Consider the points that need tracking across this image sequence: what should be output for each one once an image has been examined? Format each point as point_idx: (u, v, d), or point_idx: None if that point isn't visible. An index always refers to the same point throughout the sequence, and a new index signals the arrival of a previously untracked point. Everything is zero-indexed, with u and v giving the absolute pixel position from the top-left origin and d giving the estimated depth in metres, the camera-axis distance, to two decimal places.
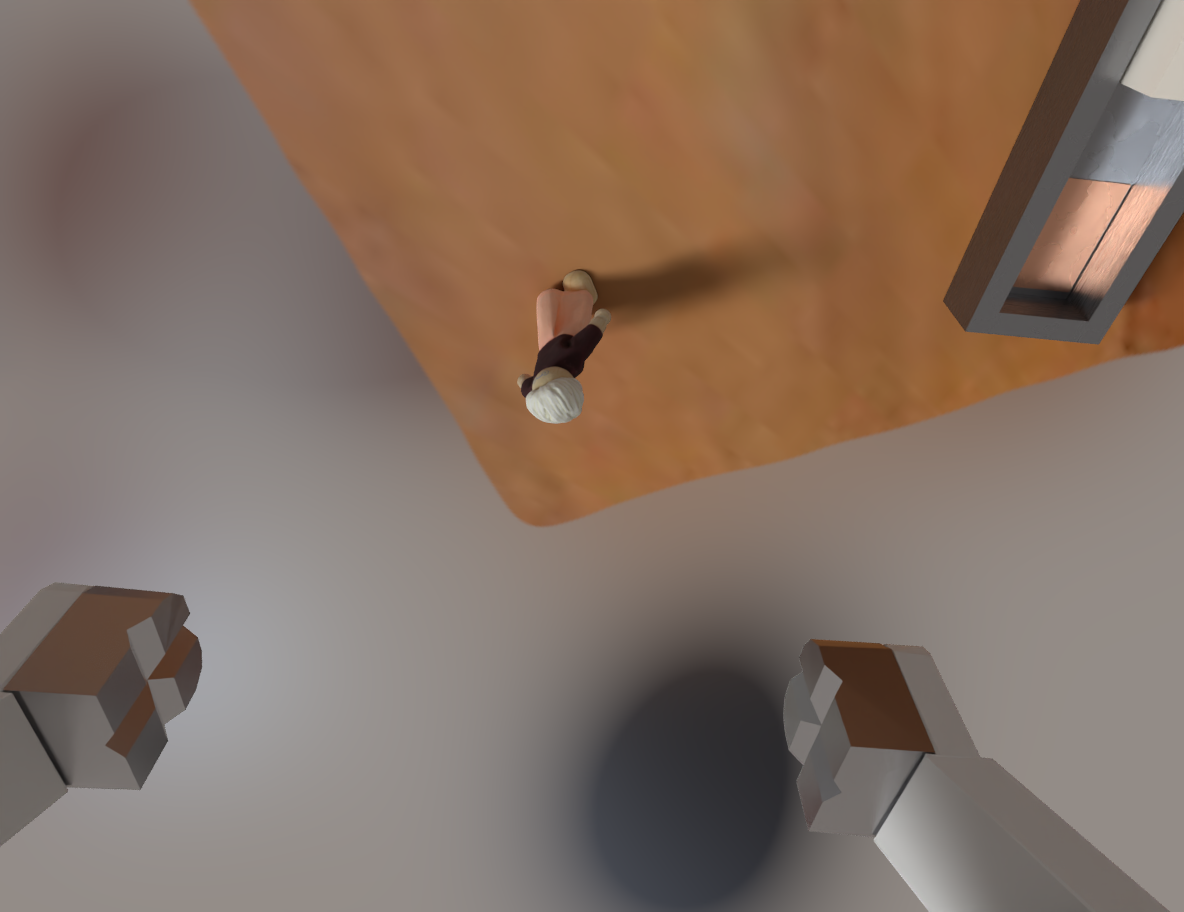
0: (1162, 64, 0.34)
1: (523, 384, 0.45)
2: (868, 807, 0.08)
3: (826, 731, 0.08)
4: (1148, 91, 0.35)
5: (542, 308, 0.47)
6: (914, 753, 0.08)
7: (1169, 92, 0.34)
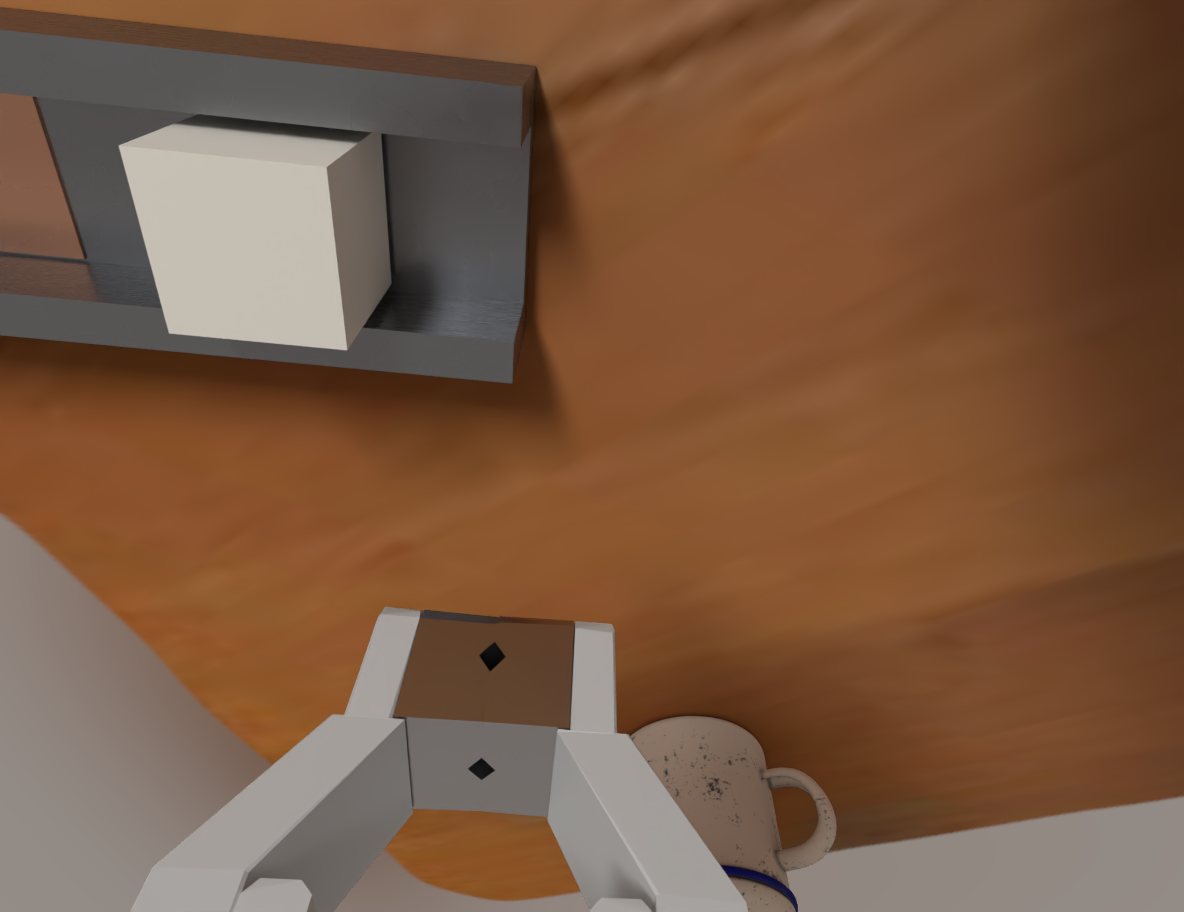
0: (184, 147, 0.18)
1: None
2: (530, 785, 0.08)
3: None
4: (134, 142, 0.18)
5: None
6: (549, 729, 0.08)
7: (139, 177, 0.18)
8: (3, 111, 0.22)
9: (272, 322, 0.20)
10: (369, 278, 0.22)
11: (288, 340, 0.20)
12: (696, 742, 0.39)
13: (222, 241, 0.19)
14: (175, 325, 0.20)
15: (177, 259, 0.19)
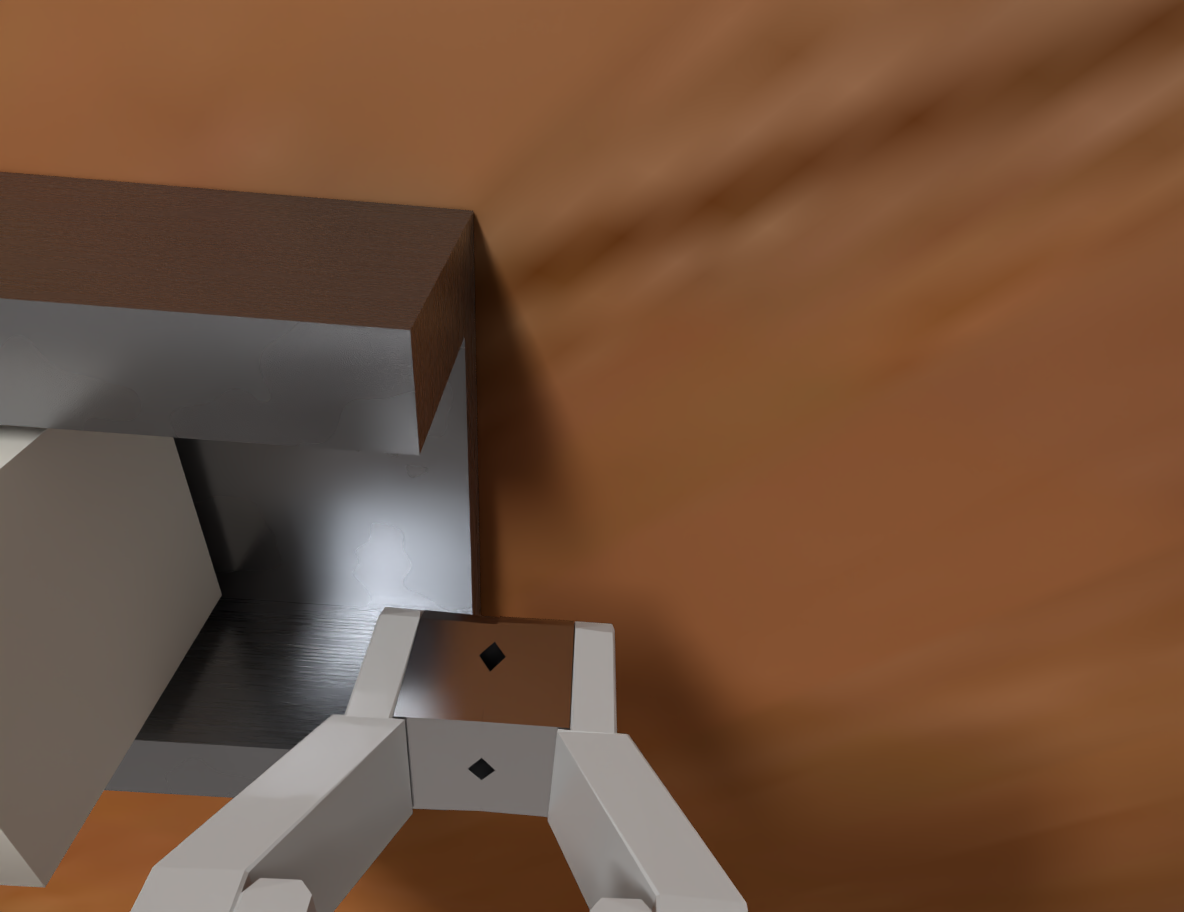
0: None
1: None
2: (530, 786, 0.08)
3: None
4: None
5: None
6: (549, 729, 0.08)
7: None
8: None
9: None
10: (130, 661, 0.10)
11: None
12: None
13: None
14: None
15: None
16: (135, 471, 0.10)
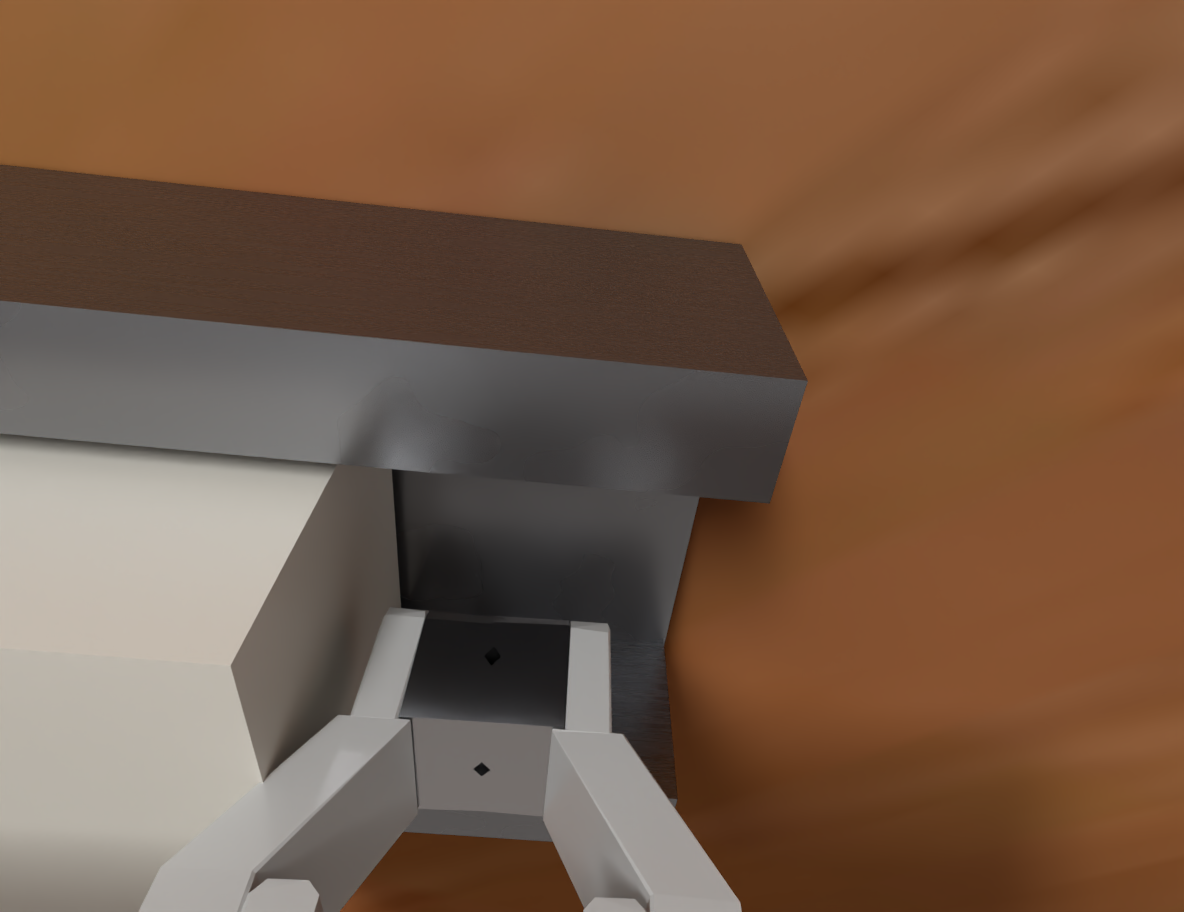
0: None
1: None
2: (525, 785, 0.08)
3: None
4: None
5: None
6: (544, 728, 0.08)
7: None
8: None
9: (119, 902, 0.08)
10: None
11: None
12: None
13: None
14: None
15: None
16: (372, 501, 0.10)
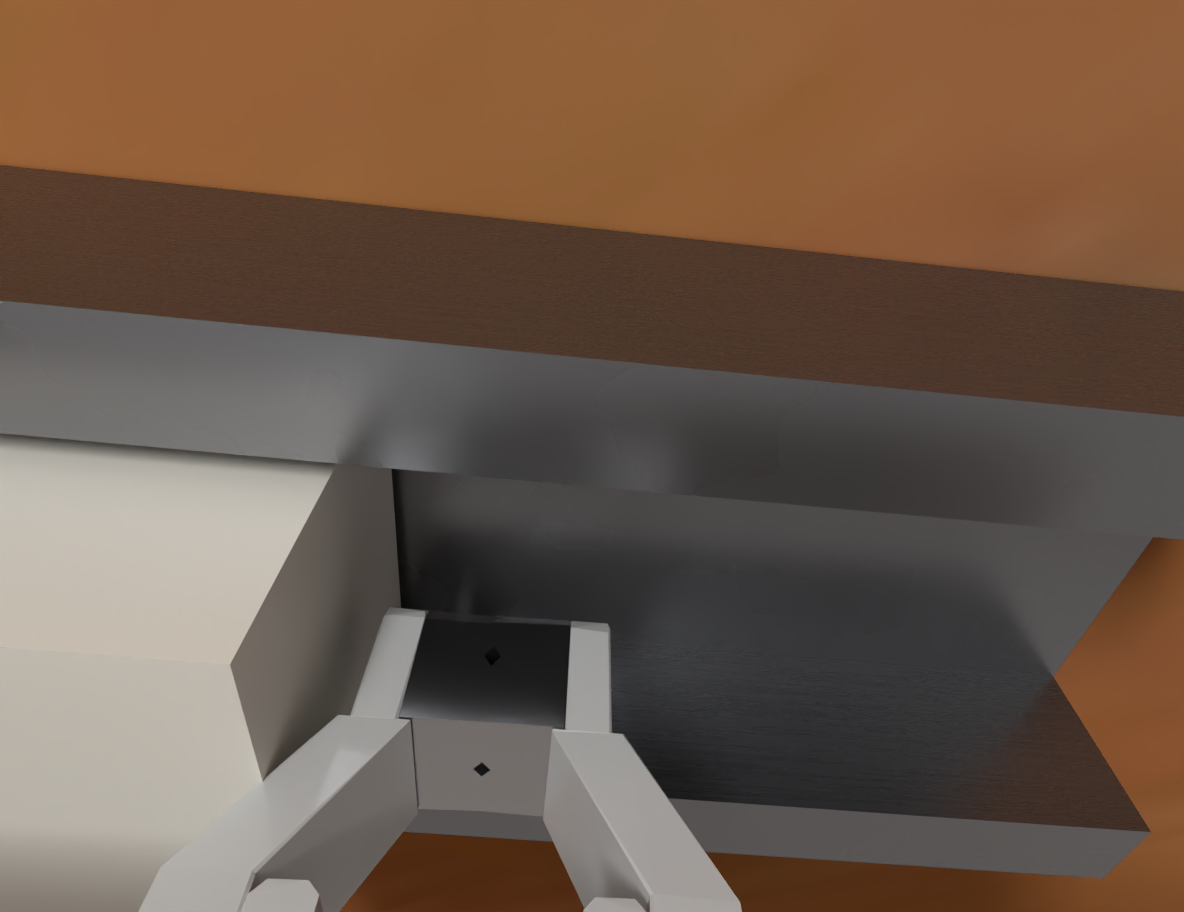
0: None
1: None
2: (525, 785, 0.08)
3: None
4: None
5: None
6: (544, 728, 0.08)
7: None
8: None
9: (119, 901, 0.08)
10: None
11: None
12: None
13: None
14: None
15: None
16: (372, 501, 0.10)
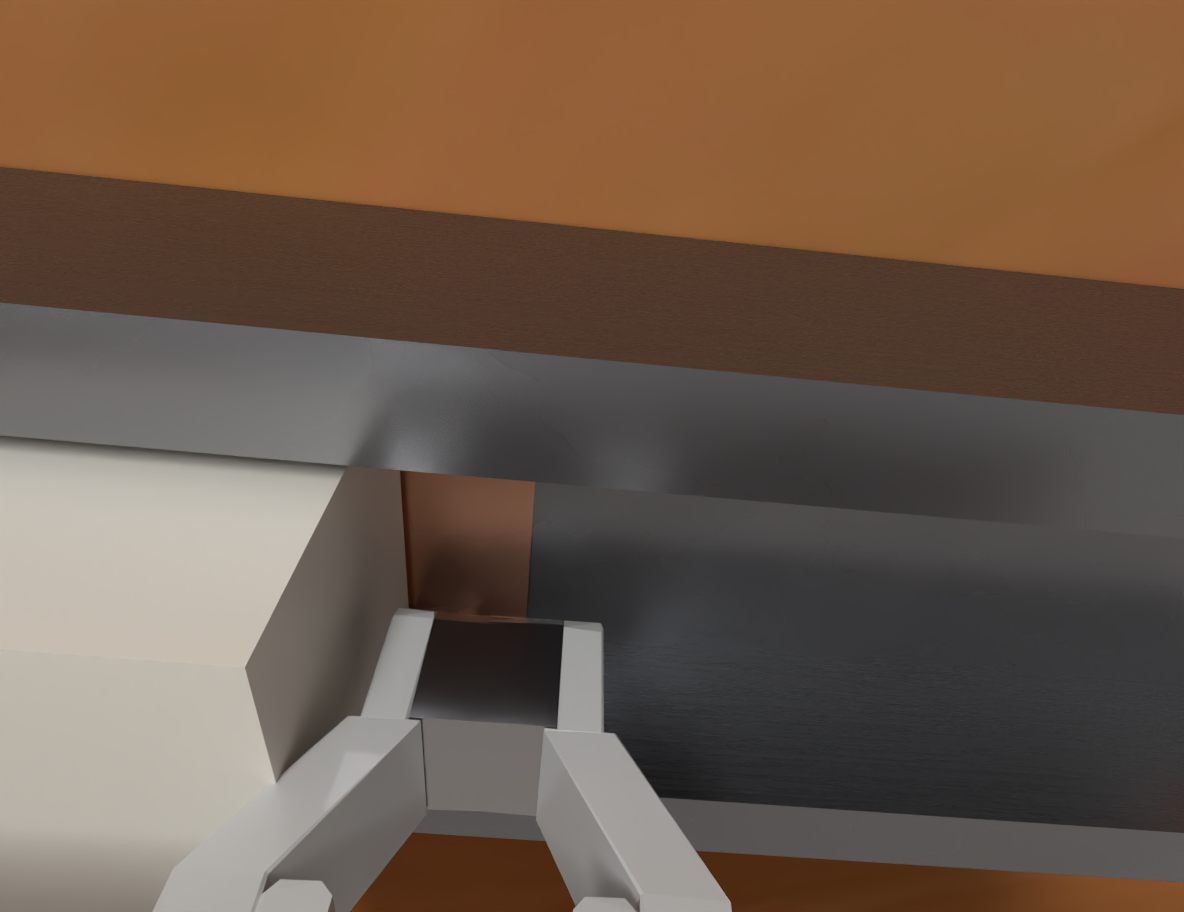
0: None
1: None
2: (517, 785, 0.08)
3: None
4: None
5: None
6: (536, 728, 0.08)
7: None
8: None
9: (132, 902, 0.08)
10: None
11: None
12: None
13: None
14: None
15: None
16: (381, 503, 0.10)
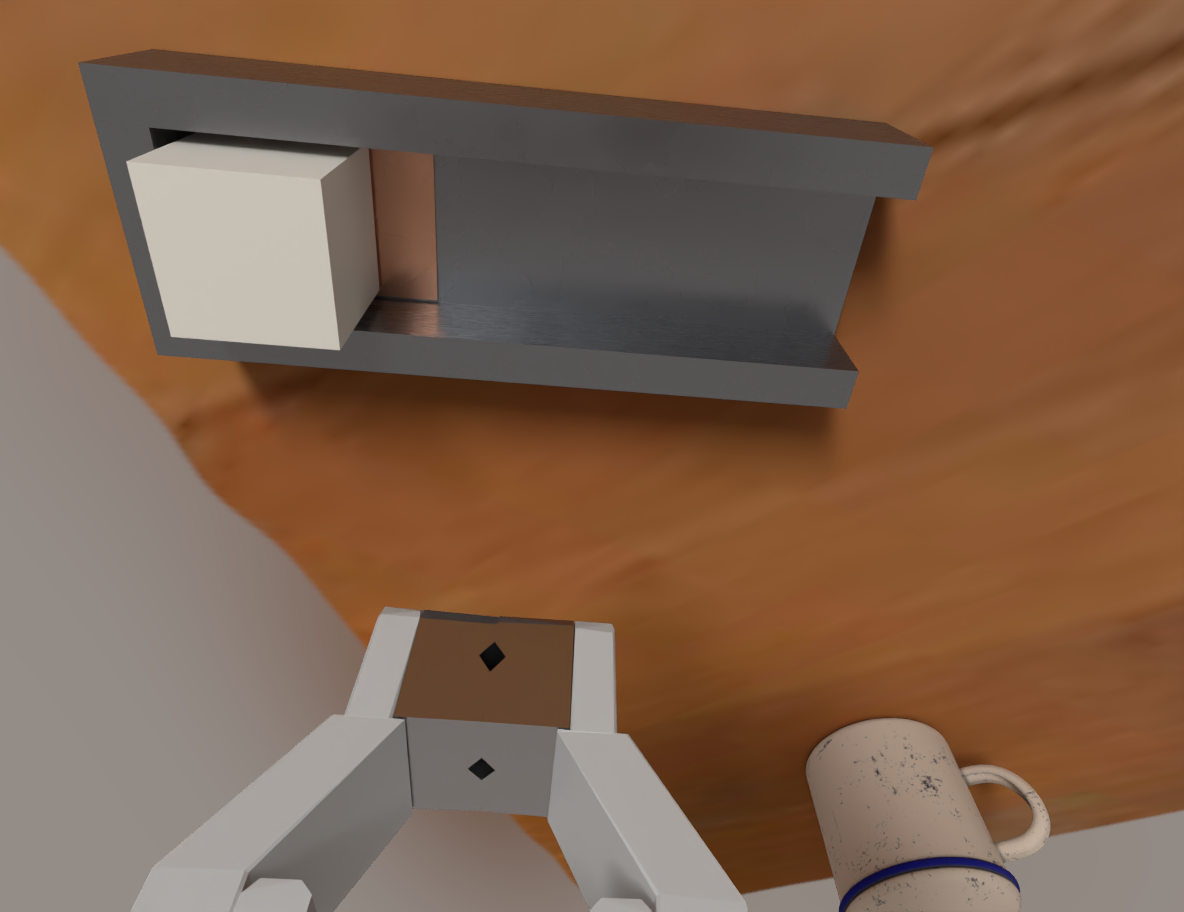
0: (187, 161, 0.19)
1: None
2: (530, 785, 0.08)
3: None
4: (140, 158, 0.19)
5: None
6: (549, 729, 0.08)
7: (145, 190, 0.19)
8: (400, 168, 0.24)
9: (269, 325, 0.21)
10: (358, 283, 0.23)
11: (284, 341, 0.22)
12: (899, 743, 0.41)
13: (223, 249, 0.20)
14: (177, 329, 0.21)
15: (180, 267, 0.20)
16: (363, 196, 0.23)
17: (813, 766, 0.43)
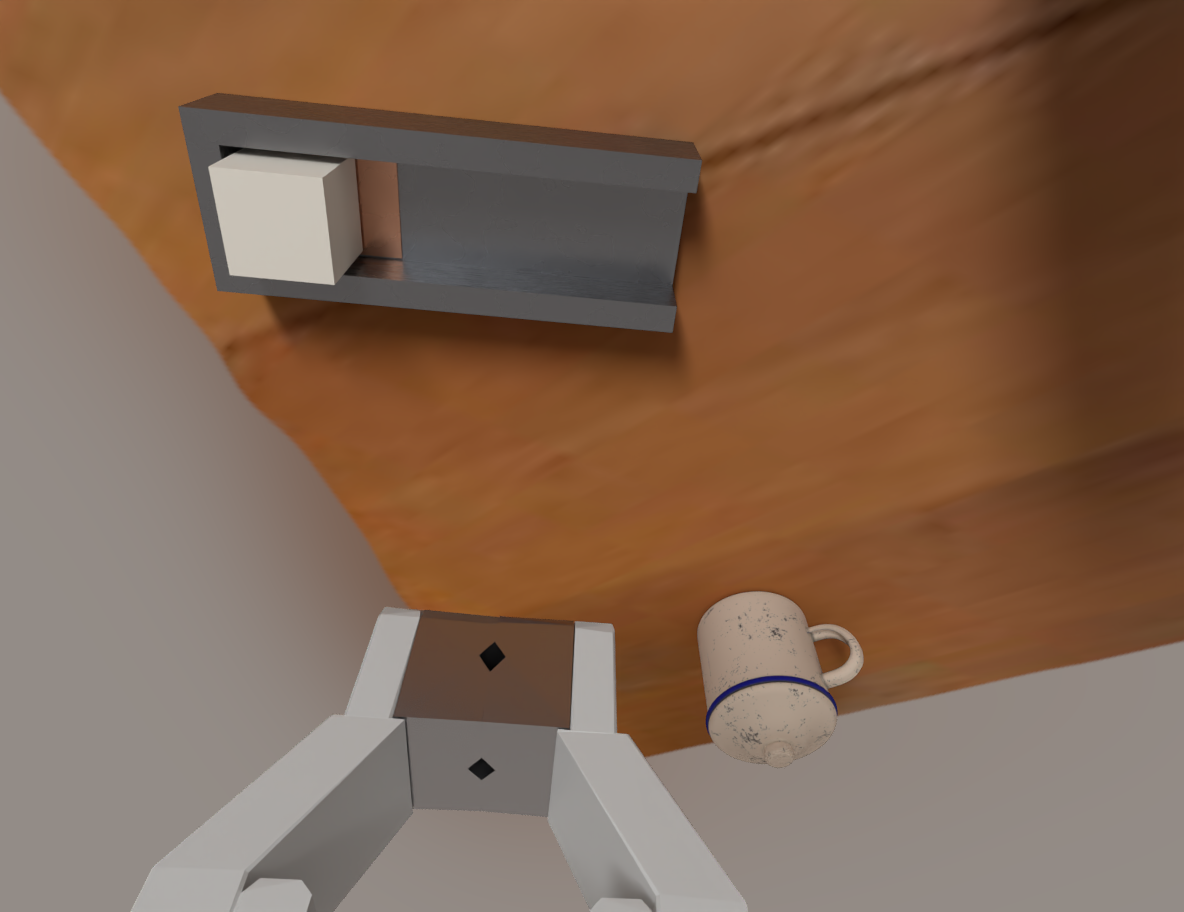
0: (243, 166, 0.32)
1: None
2: (530, 785, 0.08)
3: None
4: (215, 164, 0.32)
5: None
6: (549, 728, 0.08)
7: (218, 184, 0.32)
8: (375, 170, 0.37)
9: (290, 268, 0.34)
10: (347, 244, 0.36)
11: (300, 279, 0.35)
12: (760, 607, 0.53)
13: (263, 220, 0.33)
14: (233, 270, 0.34)
15: (237, 230, 0.33)
16: (351, 188, 0.36)
17: (700, 630, 0.56)
